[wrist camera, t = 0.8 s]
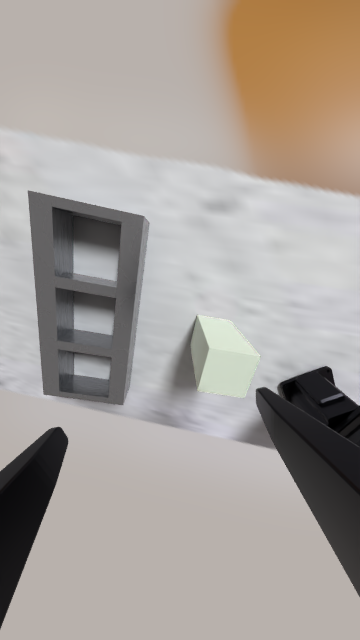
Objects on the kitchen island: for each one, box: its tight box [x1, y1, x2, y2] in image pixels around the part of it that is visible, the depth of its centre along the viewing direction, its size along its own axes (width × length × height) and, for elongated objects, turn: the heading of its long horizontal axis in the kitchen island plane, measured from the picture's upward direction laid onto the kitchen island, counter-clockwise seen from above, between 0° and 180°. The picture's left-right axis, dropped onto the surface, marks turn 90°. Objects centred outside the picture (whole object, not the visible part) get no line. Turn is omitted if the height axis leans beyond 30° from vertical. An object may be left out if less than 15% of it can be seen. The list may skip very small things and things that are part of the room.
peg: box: [190, 315, 261, 398], centre depth 18 cm, size 4×4×8 cm
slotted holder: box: [28, 191, 149, 405], centre depth 19 cm, size 20×9×3 cm, turn 169°
